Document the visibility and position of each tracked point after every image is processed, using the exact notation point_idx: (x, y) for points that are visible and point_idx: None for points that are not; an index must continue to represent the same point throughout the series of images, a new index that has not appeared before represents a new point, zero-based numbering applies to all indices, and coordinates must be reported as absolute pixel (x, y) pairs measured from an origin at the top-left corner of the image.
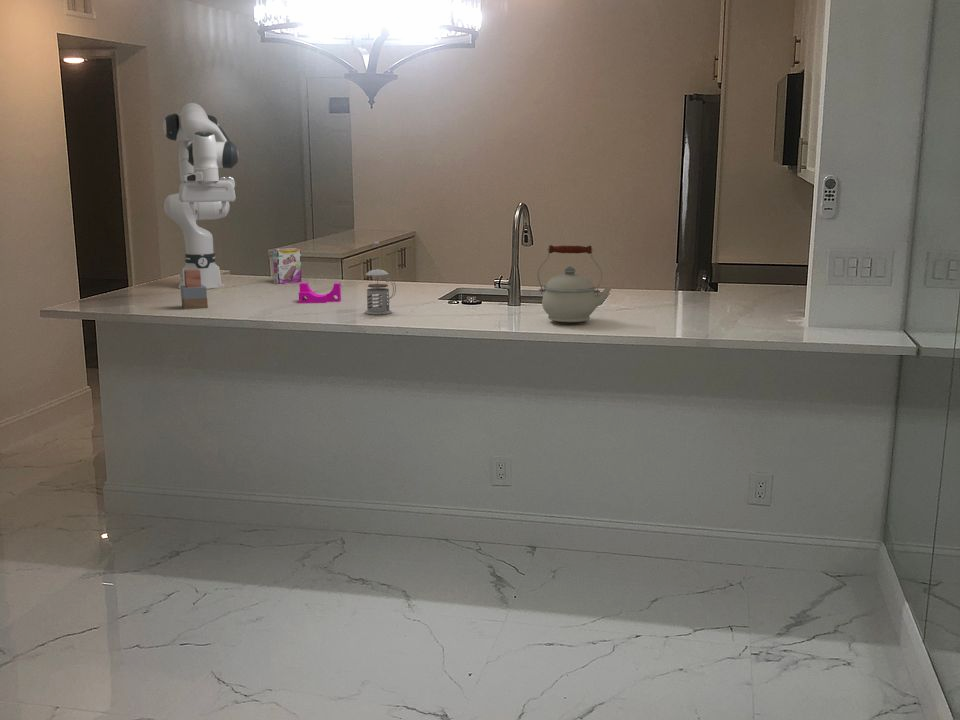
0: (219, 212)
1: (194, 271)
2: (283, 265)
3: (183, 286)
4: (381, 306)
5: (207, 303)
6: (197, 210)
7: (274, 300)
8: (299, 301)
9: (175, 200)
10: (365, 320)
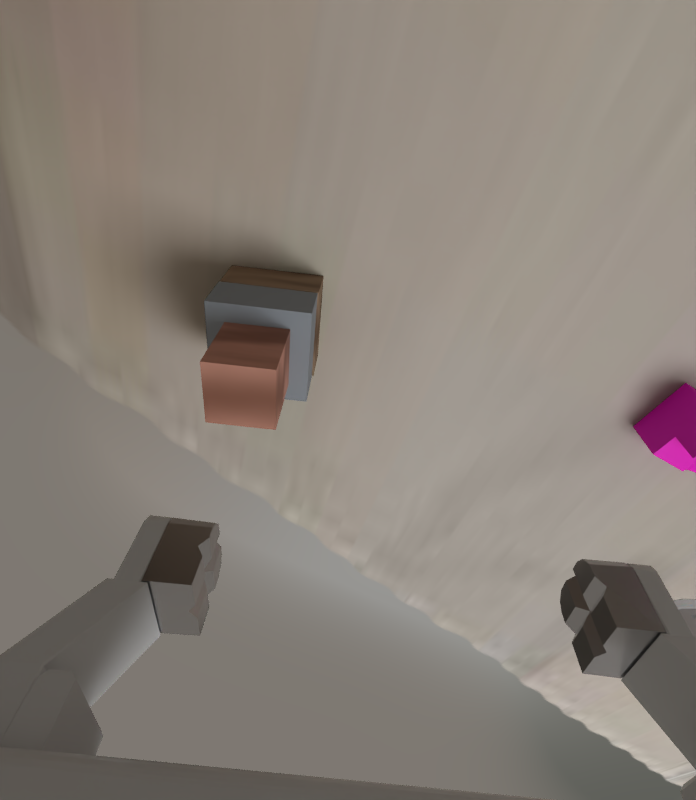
0: (571, 609)
1: (247, 424)
2: None
3: (216, 328)
4: None
5: (315, 364)
6: (201, 625)
7: (631, 295)
8: (639, 433)
9: None
10: (570, 665)
